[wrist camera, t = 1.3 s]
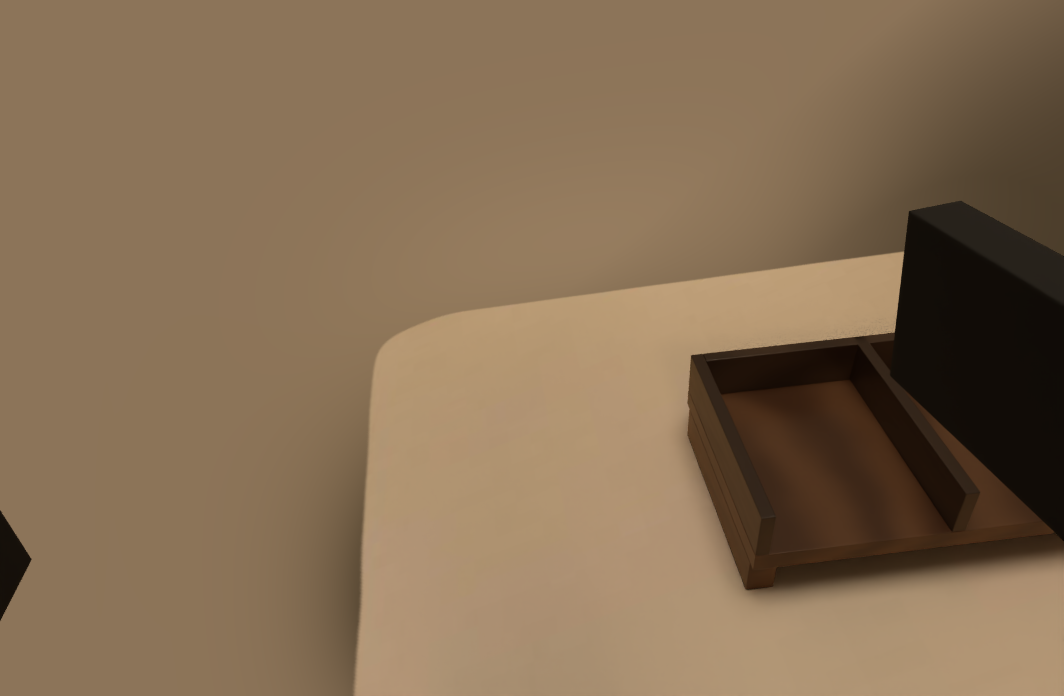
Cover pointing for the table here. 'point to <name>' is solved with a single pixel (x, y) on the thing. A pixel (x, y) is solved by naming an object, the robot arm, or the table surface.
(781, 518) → the tray
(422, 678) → the table surface
